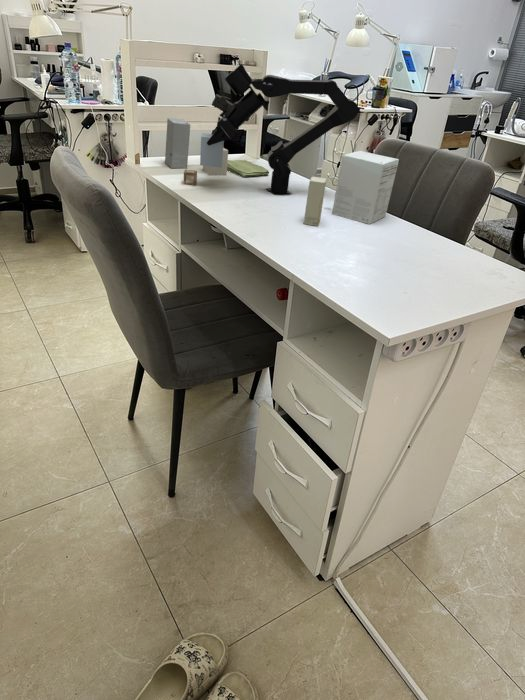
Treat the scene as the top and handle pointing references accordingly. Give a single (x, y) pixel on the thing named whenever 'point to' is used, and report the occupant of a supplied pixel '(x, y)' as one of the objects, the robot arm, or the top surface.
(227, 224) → the top surface
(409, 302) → the top surface
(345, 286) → the top surface
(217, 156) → the blue box
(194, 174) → the brown picture frame
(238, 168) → the washcloth
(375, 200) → the supplement box
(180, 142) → the skincare box
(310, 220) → the skincare box
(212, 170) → the taupe cardboard box
